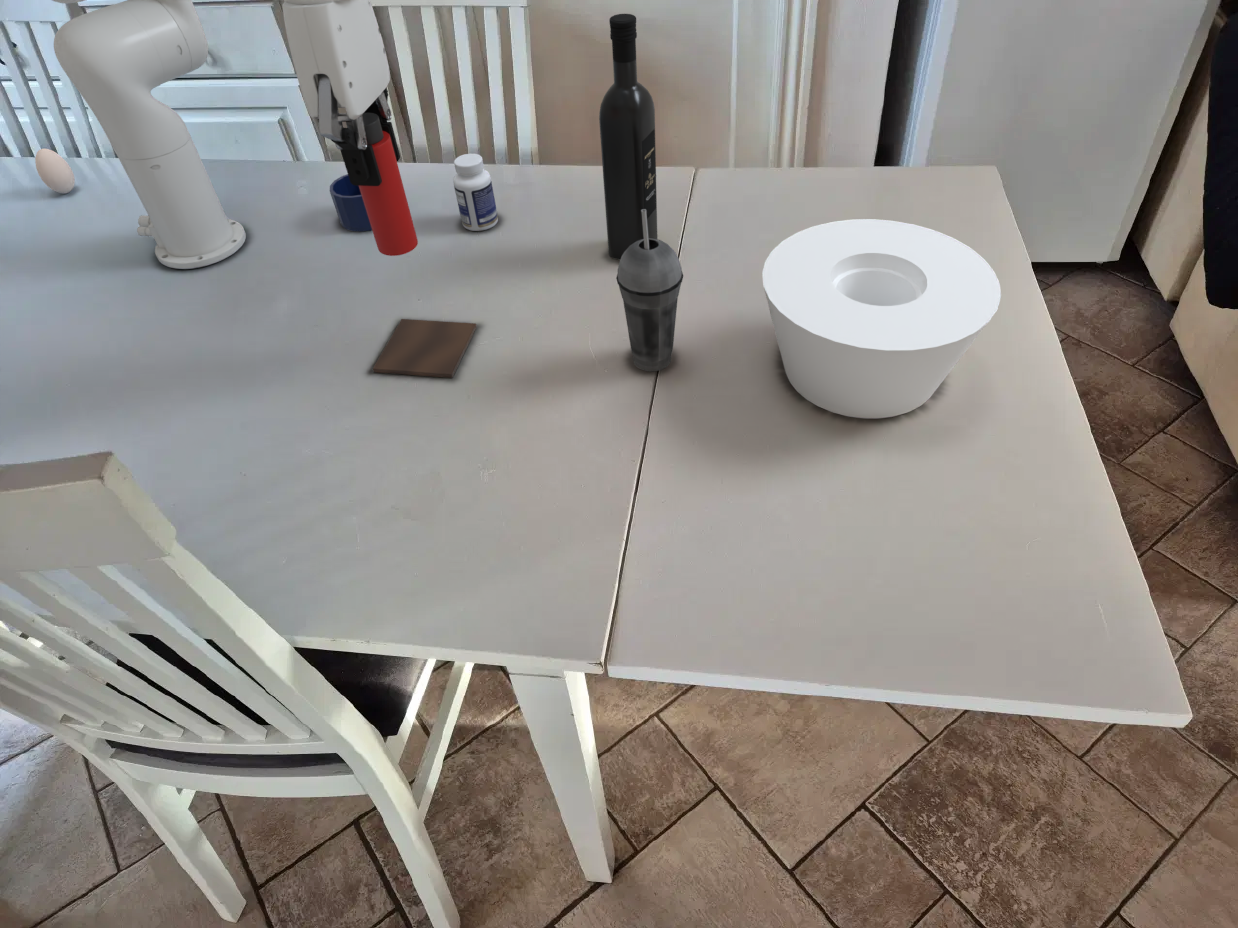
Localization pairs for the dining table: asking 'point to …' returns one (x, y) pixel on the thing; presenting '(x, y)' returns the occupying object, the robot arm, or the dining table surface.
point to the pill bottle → (474, 193)
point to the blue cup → (349, 205)
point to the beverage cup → (650, 299)
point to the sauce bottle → (386, 195)
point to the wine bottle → (627, 145)
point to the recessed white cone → (875, 312)
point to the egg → (54, 171)
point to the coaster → (425, 348)
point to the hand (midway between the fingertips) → (376, 170)
